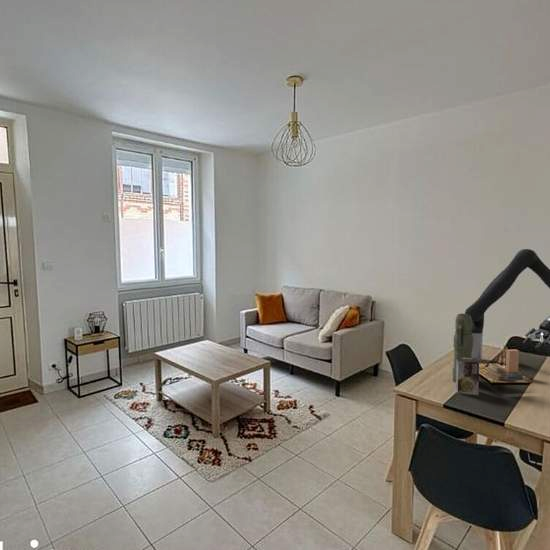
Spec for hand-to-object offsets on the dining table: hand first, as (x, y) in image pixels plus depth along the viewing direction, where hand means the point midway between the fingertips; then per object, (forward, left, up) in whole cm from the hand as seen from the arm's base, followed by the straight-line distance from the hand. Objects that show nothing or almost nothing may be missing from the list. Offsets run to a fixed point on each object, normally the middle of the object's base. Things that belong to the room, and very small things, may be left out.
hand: (530, 346), depth 189 cm
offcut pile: (-15, -9, -15) cm, 23 cm away
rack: (-11, -6, -17) cm, 21 cm away
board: (-8, -5, -15) cm, 18 cm away
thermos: (-31, -19, -17) cm, 40 cm away
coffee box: (-29, -33, -17) cm, 47 cm away
